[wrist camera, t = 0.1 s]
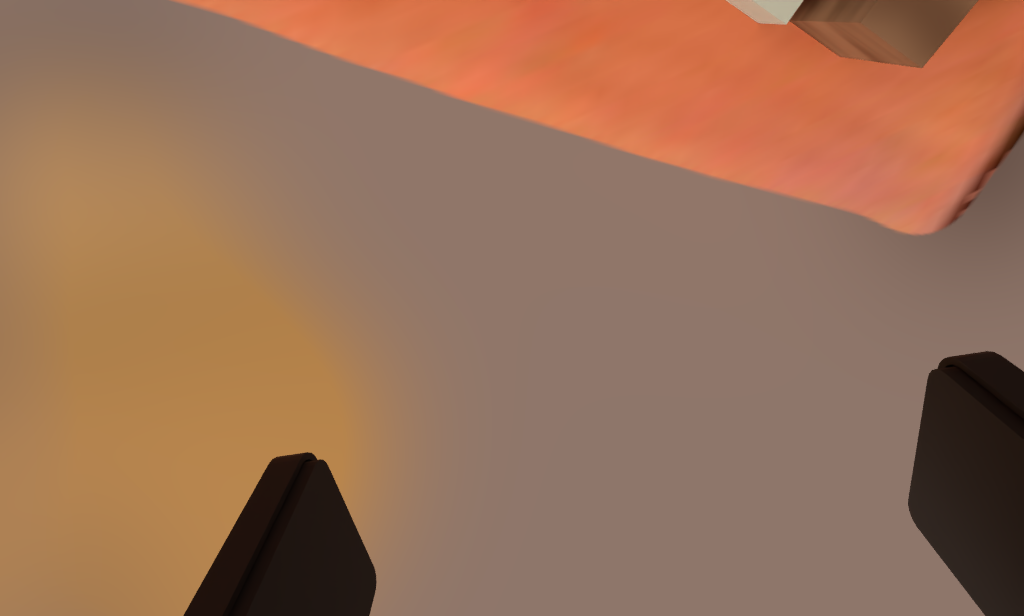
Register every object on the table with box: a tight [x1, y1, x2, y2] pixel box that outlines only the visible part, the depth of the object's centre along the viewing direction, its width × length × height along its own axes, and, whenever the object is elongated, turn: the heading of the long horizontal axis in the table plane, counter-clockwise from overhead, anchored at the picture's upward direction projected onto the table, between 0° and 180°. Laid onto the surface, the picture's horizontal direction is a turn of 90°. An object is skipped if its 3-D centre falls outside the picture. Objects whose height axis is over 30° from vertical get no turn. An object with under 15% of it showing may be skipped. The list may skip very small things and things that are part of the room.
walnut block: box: [789, 0, 978, 68], centre depth 30 cm, size 4×4×8 cm
